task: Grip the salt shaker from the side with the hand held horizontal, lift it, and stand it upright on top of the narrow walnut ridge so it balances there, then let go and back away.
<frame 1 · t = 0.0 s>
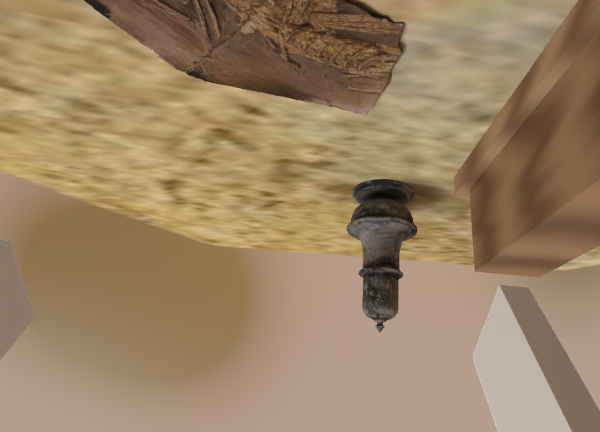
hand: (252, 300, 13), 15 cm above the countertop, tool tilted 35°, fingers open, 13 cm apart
ridge: (561, 101, 27), on the countertop
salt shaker: (382, 191, 40), on the countertop
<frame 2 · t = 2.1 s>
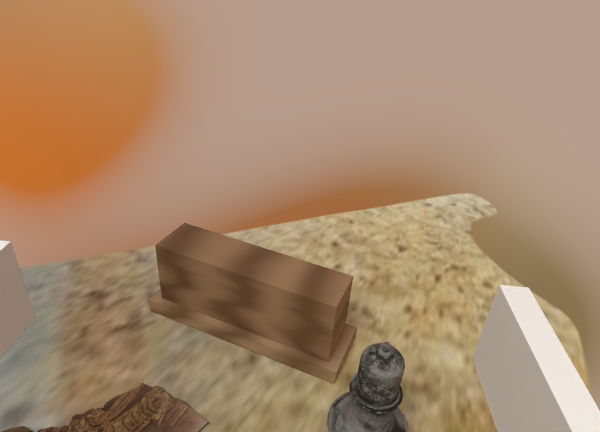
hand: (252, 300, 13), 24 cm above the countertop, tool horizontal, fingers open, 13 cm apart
ridge: (251, 324, 45), on the countertop
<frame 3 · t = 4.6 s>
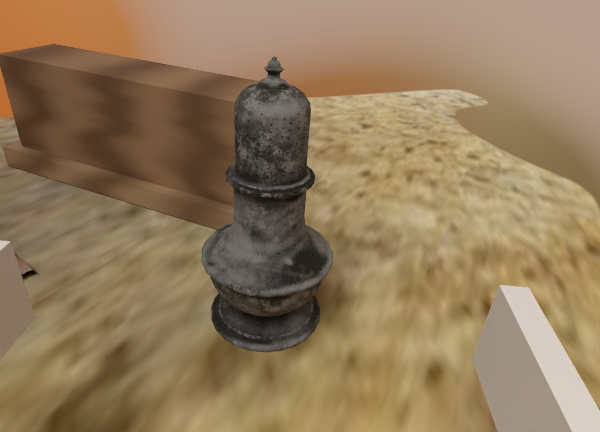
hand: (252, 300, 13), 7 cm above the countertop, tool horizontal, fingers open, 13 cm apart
ridge: (144, 180, 33), on the countertop
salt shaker: (265, 313, 22), on the countertop
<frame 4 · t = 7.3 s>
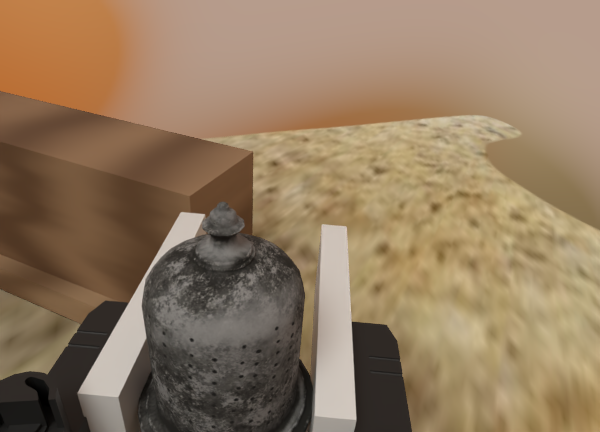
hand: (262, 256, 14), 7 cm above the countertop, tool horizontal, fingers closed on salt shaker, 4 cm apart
ridge: (82, 269, 24), on the countertop
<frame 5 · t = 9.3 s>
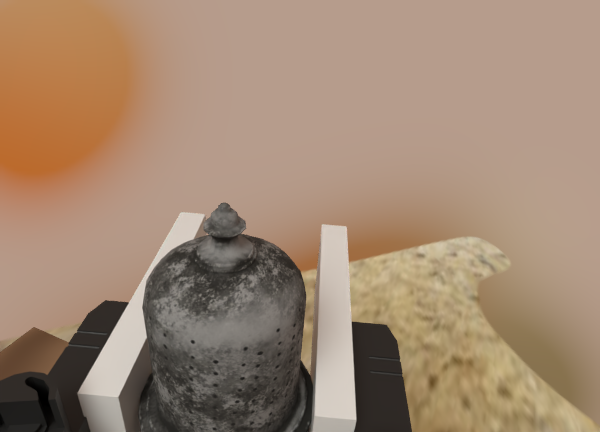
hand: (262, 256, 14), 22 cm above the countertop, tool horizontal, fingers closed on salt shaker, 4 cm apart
when the fingers open (16 cm above the countertop, at t = 11.6 s): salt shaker stays where it is, resting on ridge.
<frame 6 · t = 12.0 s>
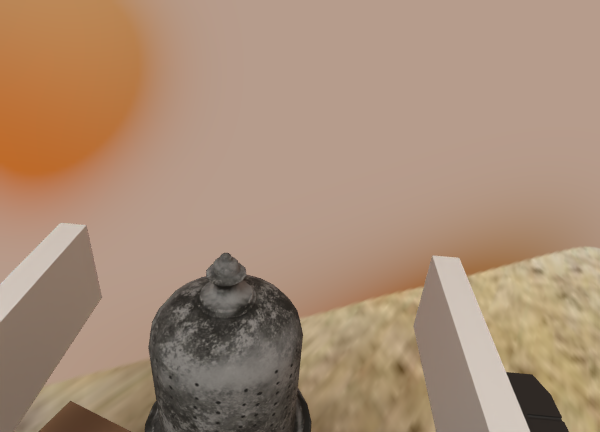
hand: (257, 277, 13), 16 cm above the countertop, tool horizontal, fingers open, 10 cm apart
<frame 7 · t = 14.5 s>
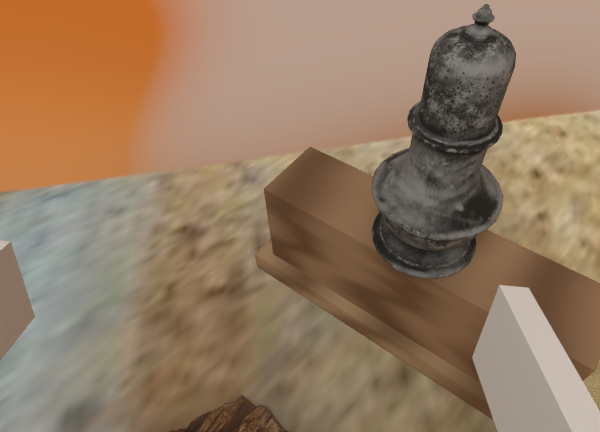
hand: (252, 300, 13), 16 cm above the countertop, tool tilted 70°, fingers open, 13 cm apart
ridge: (402, 310, 30), on the countertop
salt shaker: (422, 238, 24), point 8 cm above the countertop, touching ridge
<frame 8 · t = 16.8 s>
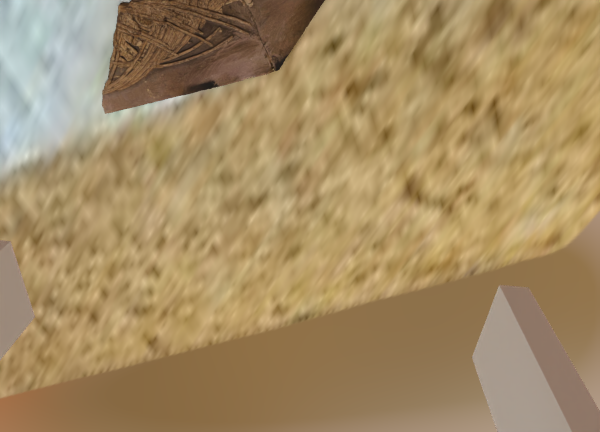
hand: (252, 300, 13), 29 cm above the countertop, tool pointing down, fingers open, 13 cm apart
wooden fragment: (215, 23, 36), on the countertop
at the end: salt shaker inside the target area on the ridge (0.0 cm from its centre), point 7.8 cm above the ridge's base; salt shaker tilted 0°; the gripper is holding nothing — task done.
